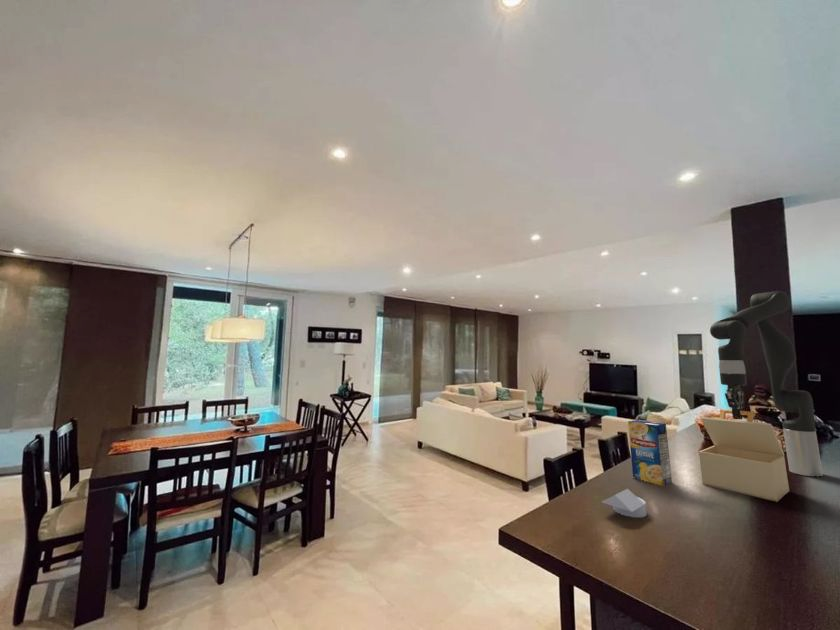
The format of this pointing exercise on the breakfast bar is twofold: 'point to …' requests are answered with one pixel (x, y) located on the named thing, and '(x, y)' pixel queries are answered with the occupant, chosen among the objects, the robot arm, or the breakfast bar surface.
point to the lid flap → (742, 433)
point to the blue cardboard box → (650, 451)
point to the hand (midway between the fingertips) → (737, 418)
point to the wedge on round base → (627, 504)
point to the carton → (744, 472)
